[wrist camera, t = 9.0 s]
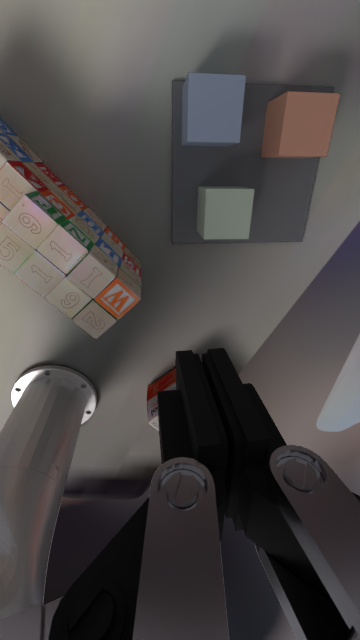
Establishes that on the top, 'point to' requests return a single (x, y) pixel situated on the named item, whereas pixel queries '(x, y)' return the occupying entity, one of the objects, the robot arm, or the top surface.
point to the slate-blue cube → (212, 109)
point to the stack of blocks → (61, 243)
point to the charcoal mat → (243, 173)
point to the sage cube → (224, 212)
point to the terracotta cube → (299, 125)
